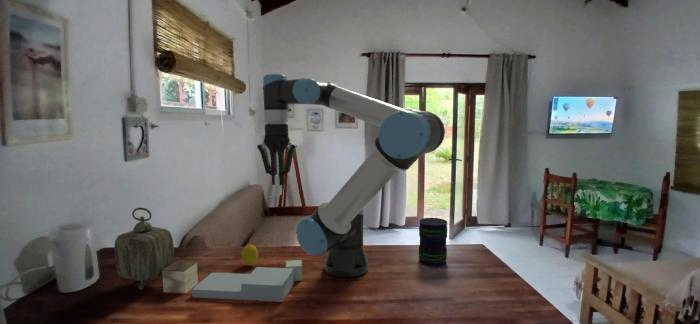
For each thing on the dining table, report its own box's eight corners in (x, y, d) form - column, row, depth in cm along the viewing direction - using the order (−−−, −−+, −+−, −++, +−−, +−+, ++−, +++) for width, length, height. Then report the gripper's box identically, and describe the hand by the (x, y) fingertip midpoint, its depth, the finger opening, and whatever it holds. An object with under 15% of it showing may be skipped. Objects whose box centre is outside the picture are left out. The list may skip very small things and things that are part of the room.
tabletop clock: (176, 283, 117) (171, 205, 114) (154, 296, 108) (148, 213, 105) (139, 278, 121) (133, 203, 118) (114, 290, 112) (108, 210, 109)
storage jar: (450, 260, 134) (451, 219, 132) (441, 269, 126) (442, 226, 124) (424, 254, 139) (424, 216, 138) (414, 263, 131) (414, 222, 129)
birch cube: (176, 261, 117) (177, 282, 118) (162, 270, 110) (163, 292, 111) (196, 262, 116) (198, 283, 117) (184, 271, 109) (185, 293, 110)
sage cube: (301, 274, 123) (301, 259, 122) (302, 280, 118) (301, 265, 118) (286, 275, 122) (286, 260, 122) (286, 281, 117) (285, 266, 117)
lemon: (254, 269, 127) (253, 247, 126) (239, 268, 128) (238, 246, 127) (261, 263, 132) (260, 241, 131) (246, 262, 133) (245, 241, 132)
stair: (294, 283, 116) (293, 268, 116) (282, 301, 104) (282, 285, 104) (212, 279, 119) (211, 265, 119) (192, 297, 107) (191, 281, 107)
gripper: (298, 123, 123) (300, 192, 126) (261, 123, 125) (263, 192, 127) (292, 123, 116) (294, 197, 118) (252, 123, 117) (255, 196, 120)
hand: (278, 194), depth 123 cm, fingers closed
